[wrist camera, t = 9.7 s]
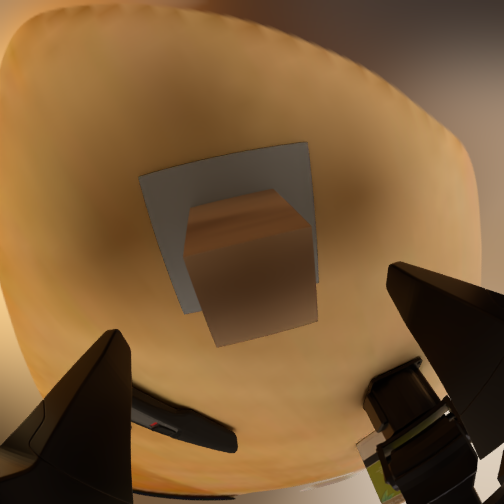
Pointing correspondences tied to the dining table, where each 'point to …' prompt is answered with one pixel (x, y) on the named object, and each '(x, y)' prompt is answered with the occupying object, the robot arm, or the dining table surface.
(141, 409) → the electric trimmer
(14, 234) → the dining table surface
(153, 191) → the pad
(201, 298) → the walnut block
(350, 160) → the dining table surface
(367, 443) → the tea box
